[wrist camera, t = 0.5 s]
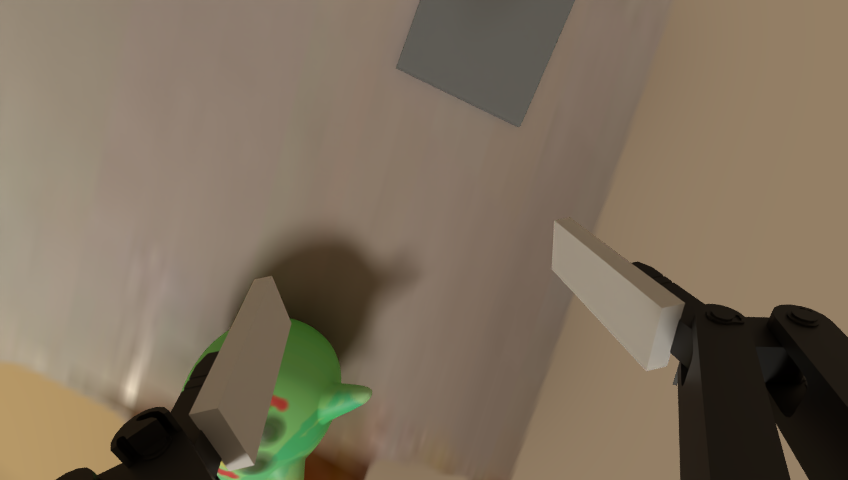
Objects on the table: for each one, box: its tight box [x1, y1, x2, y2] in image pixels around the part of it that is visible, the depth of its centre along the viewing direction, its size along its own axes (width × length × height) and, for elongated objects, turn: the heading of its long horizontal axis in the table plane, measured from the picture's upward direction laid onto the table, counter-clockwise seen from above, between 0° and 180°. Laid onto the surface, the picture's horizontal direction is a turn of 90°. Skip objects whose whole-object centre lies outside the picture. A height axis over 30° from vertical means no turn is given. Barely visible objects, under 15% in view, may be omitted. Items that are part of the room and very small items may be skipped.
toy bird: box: [182, 318, 372, 480], centre depth 38 cm, size 18×17×15 cm
